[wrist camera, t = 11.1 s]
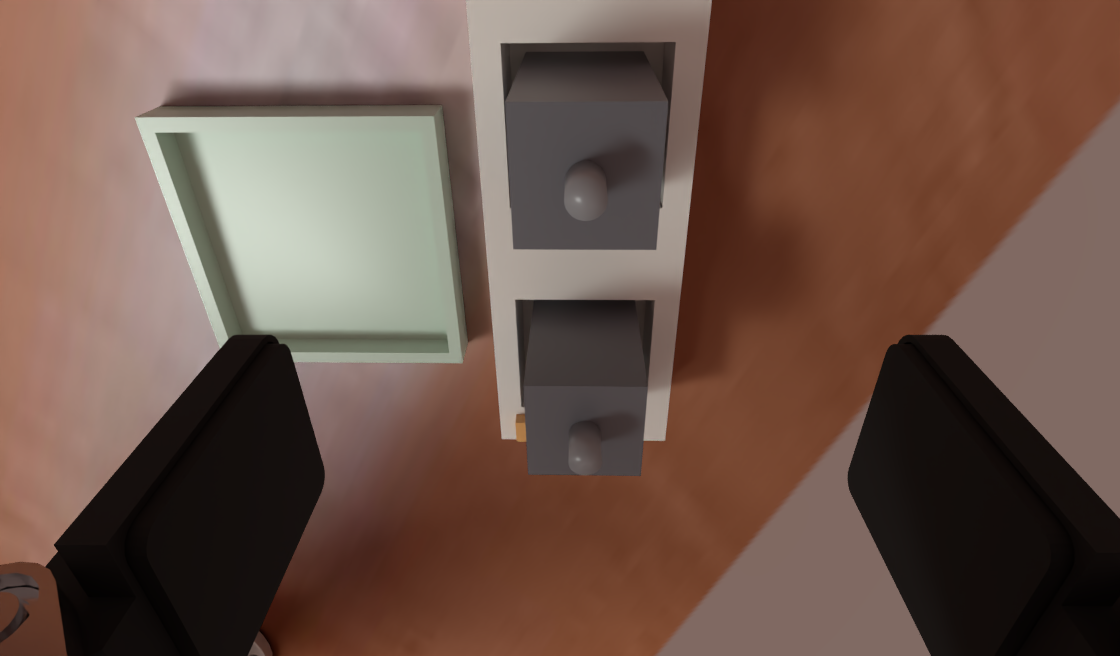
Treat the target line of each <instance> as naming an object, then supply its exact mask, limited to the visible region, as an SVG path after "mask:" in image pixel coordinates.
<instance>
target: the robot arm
mask: <svg viewBox="0 0 1120 656" xmlns="http://www.w3.org/2000/svg"><path fill="white" fill-rule="evenodd" d="M324 479H325V471H324V466H323V462H322V459H321V455H320V452H319V448H318V445H317V441H316V438H315V434H314V431H313V427H312V424H311V420H310V417H309V413H308V410H307V407H306V403H305V400H304V396H303V393H302V389H301V386H300V382H299V379H298V375H297V372H296V368H295V365H294V361H293V358H292V354H291V351H290V349H289V347H288V346H287V345H286V344H279V341H278V340H277V338H276V337H275V336H273V335H233V336H231V337H230V338H229V339H228V340H227V341H226V342H225V344H224V345H223V346H222V347H221V348H220V350H219V351H218V352H217V353H216V354H215V355H214V357H213V358H212V359H211V360H210V361H209V363H208V364H207V365H206V366H205V367H204V368H203V370H202V371H201V372H200V373H199V374H198V375H197V377H196V378H195V379H194V380H193V381H192V383H191V384H190V385H189V386H188V387H187V388H186V390H185V391H184V392H183V393H182V394H181V396H180V397H179V398H178V399H177V400H176V401H175V403H174V404H173V405H172V406H171V407H170V409H169V410H168V411H167V412H166V413H165V414H164V416H163V417H162V418H161V419H160V420H159V421H158V423H157V424H156V425H155V426H154V427H153V429H152V430H151V431H150V432H149V433H148V434H147V436H146V437H145V438H144V439H143V440H142V442H141V443H140V444H139V445H138V446H137V447H136V449H135V450H134V451H133V452H132V453H131V455H130V456H129V457H128V458H127V459H126V460H125V462H124V463H123V464H122V465H121V466H120V467H119V469H118V470H117V471H116V472H115V473H114V475H113V476H112V477H111V478H110V479H109V480H108V482H107V483H106V484H105V485H104V486H103V488H102V489H101V490H100V491H99V492H98V493H97V495H96V496H95V497H94V498H93V499H92V500H91V502H90V503H89V504H88V505H87V506H86V508H85V509H84V510H83V511H82V512H81V513H80V515H79V516H78V517H77V518H76V519H75V521H74V522H73V523H72V524H71V525H70V526H69V528H68V529H67V530H66V531H65V532H64V534H63V535H62V536H61V537H60V538H59V539H58V541H57V542H56V543H55V544H54V546H55V547H56V549H57V550H58V552H57V553H56V555H55V556H54V557H53V558H52V559H51V561H50V562H49V563H48V564H47V565H46V567H44V566H42V565H40V564H38V563H29V562H15V563H9V564H3V565H0V656H273V655H272V650H271V648H270V645H269V643H268V642H267V640H266V639H265V637H264V636H263V635H262V633H261V632H259V630H260V627H261V625H262V623H263V621H264V619H265V616H266V614H267V612H268V610H269V607H270V605H271V603H272V601H273V598H274V596H275V594H276V592H277V590H278V587H279V585H280V583H281V581H282V578H283V576H284V574H285V572H286V570H287V567H288V565H289V563H290V561H291V558H292V556H293V554H294V552H295V550H296V547H297V545H298V543H299V541H300V538H301V536H302V534H303V532H304V530H305V527H306V525H307V523H308V521H309V518H310V516H311V514H312V512H313V510H314V507H315V505H316V503H317V501H318V498H319V496H320V494H321V492H322V489H323V485H324ZM848 486H849V490H850V493H851V495H852V497H853V499H854V501H855V503H856V505H857V507H858V509H859V511H860V513H861V515H862V517H863V519H864V521H865V523H866V525H867V527H868V529H869V531H870V533H871V535H872V537H873V539H874V541H875V543H876V545H877V548H878V550H879V551H880V554H881V556H882V558H883V560H884V562H885V564H886V566H887V568H888V570H889V572H890V574H891V576H892V578H893V580H894V582H895V584H896V586H897V588H898V590H899V592H900V594H901V596H902V598H903V600H904V602H905V604H906V606H907V608H908V610H909V612H910V614H911V616H912V618H913V620H914V622H915V624H916V626H917V628H918V630H919V632H920V634H921V636H922V638H923V640H924V642H925V645H926V647H927V648H928V651H929V653H930V654H931V656H1120V518H1118V516H1117V515H1116V514H1115V513H1114V512H1113V511H1112V510H1111V509H1110V508H1109V507H1108V506H1107V505H1106V503H1105V502H1104V501H1103V500H1102V499H1101V498H1100V497H1099V496H1098V495H1097V494H1096V493H1095V492H1094V491H1093V490H1092V488H1091V487H1090V486H1089V485H1088V484H1087V483H1086V482H1085V481H1084V480H1083V479H1082V478H1081V477H1080V476H1079V475H1078V474H1077V472H1076V471H1075V470H1074V469H1073V468H1072V467H1071V466H1070V465H1069V464H1068V463H1067V462H1066V461H1065V459H1064V458H1063V457H1062V456H1061V455H1060V454H1059V453H1058V452H1057V451H1056V450H1055V449H1054V448H1053V447H1052V446H1051V444H1049V442H1048V441H1047V440H1046V439H1045V438H1044V437H1043V436H1042V435H1041V434H1040V433H1039V432H1038V431H1037V429H1036V428H1035V427H1034V426H1033V425H1032V424H1031V423H1030V422H1029V421H1028V420H1027V419H1026V418H1025V417H1024V416H1023V414H1021V412H1020V411H1019V410H1018V409H1017V408H1016V407H1015V406H1014V405H1013V404H1012V403H1011V402H1010V401H1009V399H1007V397H1006V396H1005V395H1004V394H1003V393H1002V392H1001V391H1000V390H999V389H998V388H997V387H996V386H995V385H994V383H993V382H992V381H991V380H990V379H989V378H988V377H987V376H986V375H985V374H984V373H983V372H982V371H981V369H980V368H979V367H978V366H977V365H976V364H975V363H974V362H973V361H972V360H971V359H970V358H969V357H968V356H967V355H966V353H965V352H964V351H963V350H962V349H961V348H960V347H959V346H958V345H957V344H956V343H955V342H954V341H953V339H951V338H950V337H949V336H946V335H906V336H904V337H902V338H901V340H900V341H899V343H898V344H893V345H891V346H890V347H889V348H888V350H887V352H886V355H885V358H884V361H883V364H882V367H881V370H880V373H879V376H878V380H877V383H876V386H875V389H874V392H873V395H872V398H871V401H870V404H869V408H868V411H867V414H866V417H865V420H864V423H863V426H862V429H861V433H860V436H859V439H858V442H857V445H856V448H855V451H854V454H853V458H852V461H851V464H850V467H849V471H848Z"/></svg>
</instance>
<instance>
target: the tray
mask: <svg viewBox="0 0 1120 656" xmlns="http://www.w3.org/2000/svg"><path fill="white" fill-rule="evenodd" d="M135 120H136V122H137V125H138V128H139V130H140V133H141V136H142V139H143V141H144V144H145V147H146V149H147V152H148V155H149V158H150V160H151V163H152V166H153V168H154V171H155V174H156V177H157V179H158V182H159V185H160V187H161V190H162V193H163V196H164V198H165V201H166V204H167V206H168V209H169V212H170V215H171V217H172V220H173V223H174V225H175V228H176V231H177V233H178V236H179V239H180V242H181V244H182V247H183V250H184V252H185V255H186V258H187V261H188V263H189V266H190V269H191V271H192V274H193V277H194V280H195V282H196V285H197V288H198V290H199V293H200V296H201V299H202V301H203V304H204V307H205V309H206V312H207V315H208V318H209V320H210V323H211V326H212V328H213V331H214V334H215V336H216V339H217V342H218V345H219V347H220V348H221V347H222V346H223V345H224V344H225V342H226V341H227V340H228V339H229V338H230V337H231V336H233V335H273V336H275V337H276V338H277V340H278V341H279V344H286V345H287V346H288V347H289V349H290V351H291V354H292V358H293V361H294V362H359V363H463V360H464V356H465V352H466V348H467V345H468V338H467V329H466V320H465V311H464V302H463V292H462V283H461V274H460V265H459V256H458V247H457V237H456V228H455V219H454V210H453V201H452V191H451V182H450V173H449V164H448V155H447V145H446V136H445V127H444V118H443V109H442V105H342V106H160V107H157V108H155V109H153V110H151V111H148V112H146V113H144V114H142V115H139V116H137V117H135Z"/></svg>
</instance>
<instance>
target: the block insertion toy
mask: <svg viewBox="0 0 1120 656" xmlns="http://www.w3.org/2000/svg"><path fill="white" fill-rule="evenodd" d="M711 5H712V0H466V8H467V20H468V32H469V45H470V57H471V69H472V81H473V93H474V106H475V118H476V130H477V142H478V155H479V167H480V179H481V191H482V203H483V216H484V228H485V240H486V252H487V264H488V277H489V289H490V301H491V313H492V326H493V338H494V350H495V362H496V374H497V387H498V399H499V411H500V423H501V435H502V439H516V440H517V442H526V444H527V462H528V475H615V476H641V465H642V453H643V441H665V436H666V426H667V417H668V407H669V398H670V389H671V379H672V370H673V361H674V351H675V342H676V333H677V323H678V314H679V304H680V295H681V286H682V276H683V267H684V258H685V248H686V239H687V230H688V220H689V211H690V202H691V192H692V183H693V173H694V164H695V155H696V145H697V136H698V127H699V117H700V108H701V99H702V89H703V80H704V71H705V61H706V52H707V42H708V33H709V24H710V14H711ZM597 51H644V53H645V55H646V57H647V59H648V61H649V63H650V65H651V67H652V69H653V71H654V73H655V75H656V77H657V79H658V81H659V83H660V85H661V87H662V89H663V92H664V94H665V96H666V98H667V100H668V112H667V125H666V137H665V149H664V162H663V174H662V186H661V199H660V211H659V223H658V235H657V248H656V250H532V249H513V235H512V217H511V199H510V180H509V162H508V143H507V125H506V107H505V101H506V99H507V96H508V94H509V92H510V89H511V87H512V84H513V82H514V80H515V77H516V75H517V72H518V70H519V67H520V65H521V63H522V60H523V58H524V55H525V53H526V52H597Z"/></svg>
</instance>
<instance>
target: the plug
mask: <svg viewBox="0 0 1120 656" xmlns="http://www.w3.org/2000/svg"><path fill="white" fill-rule="evenodd" d="M505 107H506V125H507V143H508V162H509V180H510V199H511V217H512V235H513V249H532V250H656V248H657V235H658V223H659V211H660V199H661V186H662V174H663V162H664V149H665V137H666V125H667V112H668V100H667V98H666V96H665V94H664V92H663V89H662V87H661V85H660V83H659V81H658V79H657V77H656V75H655V73H654V71H653V69H652V67H651V65H650V63H649V61H648V59H647V57H646V55H645V53H644V51H597V52H526V53H525V55H524V58H523V60H522V63H521V65H520V67H519V70H518V72H517V75H516V77H515V80H514V82H513V84H512V87H511V89H510V92H509V94H508V96H507V99H506V101H505Z"/></svg>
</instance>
